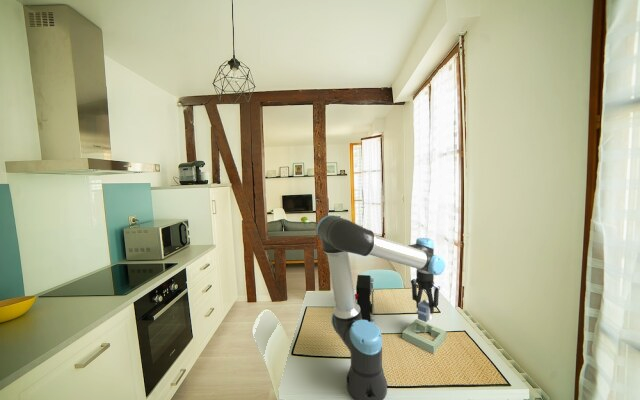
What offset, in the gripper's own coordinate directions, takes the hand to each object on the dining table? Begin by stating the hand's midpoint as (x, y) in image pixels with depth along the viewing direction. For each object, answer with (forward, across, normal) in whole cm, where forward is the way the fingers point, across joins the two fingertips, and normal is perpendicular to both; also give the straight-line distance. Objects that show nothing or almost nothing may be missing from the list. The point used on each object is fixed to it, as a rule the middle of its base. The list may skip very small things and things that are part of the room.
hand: (424, 316), depth 118 cm
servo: (0, 0, 0) cm, 0 cm away
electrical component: (+11, +34, +3) cm, 36 cm away
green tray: (+11, 0, 0) cm, 11 cm away
